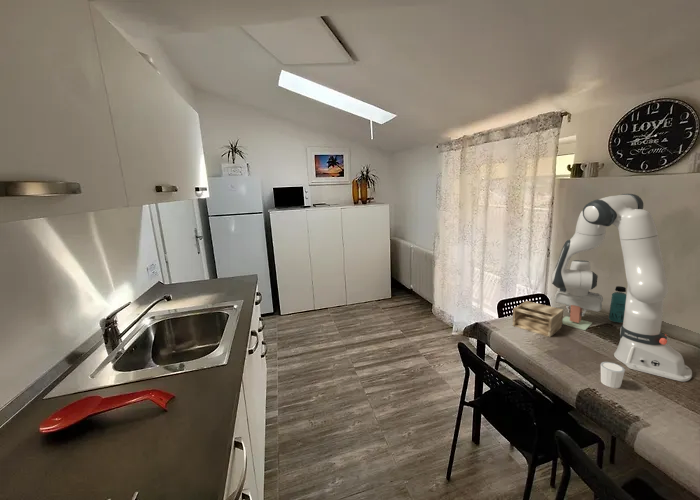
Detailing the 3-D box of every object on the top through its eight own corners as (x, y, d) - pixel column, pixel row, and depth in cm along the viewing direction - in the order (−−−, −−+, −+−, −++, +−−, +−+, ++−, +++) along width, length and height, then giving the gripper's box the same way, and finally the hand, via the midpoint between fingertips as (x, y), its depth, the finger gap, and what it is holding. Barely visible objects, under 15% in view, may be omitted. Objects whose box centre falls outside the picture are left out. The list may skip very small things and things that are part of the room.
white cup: (616, 391, 108) (618, 374, 106) (594, 381, 114) (596, 364, 113) (626, 385, 110) (629, 368, 109) (605, 375, 117) (607, 359, 115)
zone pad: (592, 323, 160) (592, 322, 160) (585, 330, 153) (585, 329, 152) (566, 316, 169) (566, 316, 169) (558, 323, 162) (558, 322, 162)
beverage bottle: (605, 320, 162) (609, 285, 159) (618, 320, 161) (623, 284, 158) (613, 325, 156) (618, 289, 152) (628, 325, 155) (632, 288, 151)
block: (581, 320, 160) (582, 304, 158) (578, 322, 158) (580, 306, 156) (572, 318, 163) (573, 302, 161) (569, 320, 161) (571, 304, 159)
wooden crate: (561, 327, 157) (563, 309, 155) (550, 337, 148) (551, 318, 146) (525, 317, 171) (526, 300, 169) (512, 325, 162) (513, 308, 160)
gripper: (605, 292, 151) (602, 318, 153) (558, 284, 167) (556, 307, 170) (601, 295, 147) (598, 322, 150) (554, 287, 163) (552, 310, 166)
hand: (575, 314), depth 160 cm, fingers closed on block, 4 cm apart
